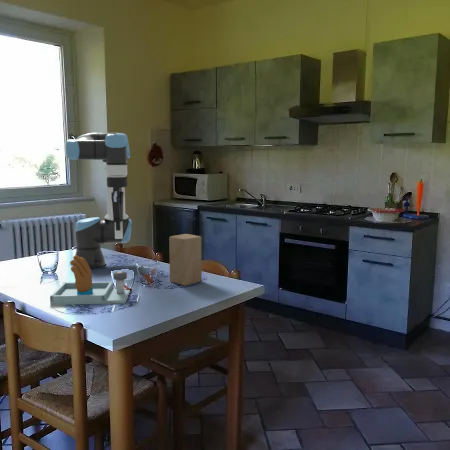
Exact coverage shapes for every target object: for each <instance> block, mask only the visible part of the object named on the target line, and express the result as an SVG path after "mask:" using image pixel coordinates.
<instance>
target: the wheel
mask: <svg viewBox="0 0 450 450" xmlns="http://www.w3.org/2000/svg"><path fill="white" fill-rule="evenodd" d="M127 273H128V272H127V271H116V272H113V280H115V281H116V280H124V281H125V280H126V279H127V278H128V275H127Z"/></svg>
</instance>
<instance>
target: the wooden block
mask: <svg viewBox="0 0 450 450" xmlns="http://www.w3.org/2000/svg"><path fill="white" fill-rule="evenodd" d="M168 241H169V252H168V253H169V282H171V283H175V284H178V285H181V286H188V285H189V286H190V285H194V284H196V283H200V282H202V279H203V277H202V271H203V270H202V269H203V268H202V236H200V235H194V234H191V233H190V234H189V233H182V234H177V235H176V234H175V235H171V236H169V239H168Z"/></svg>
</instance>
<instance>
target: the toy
mask: <svg viewBox="0 0 450 450" xmlns="http://www.w3.org/2000/svg"><path fill="white" fill-rule="evenodd" d="M70 265H72V266H71V267H70V271H71V272H72V274H73V275H74V279H75V281H74V282H75V286H76V289H77V295H91V294H92V293H93V287H92V282H93V279H92V278H93V277H92V274H93V273H92V271H91V268H89V265H88V263H87V262H86V260H85V259H84V258H82V257H79V256H77V255H74V256H73V259H72V260H70Z"/></svg>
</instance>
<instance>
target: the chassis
mask: <svg viewBox="0 0 450 450" xmlns="http://www.w3.org/2000/svg"><path fill="white" fill-rule="evenodd" d="M115 282H116V284H115V285H116V286H114V285H113V284H114V283H113V281H92V287H93V293H92V294H91V295H77V289H76V286H75V281H74V282H73V281H72V282H71V281H69V282H62V283H61V284H60V286H58V287H57V288H56V289H55V291H54V292H53V293H52V294H50V296H49V301H50V302H49V305H50V306H52V305H57V306H59V305H100V304H101V305H102V304H103V305H109V304H110V305H112V304H116V305H118V304H126V303H127V301H128V298H129V296H130V294H129V293H131V291H130V290H125V289H124V286H125V279H124V280H115ZM115 287H117V289H115ZM128 295H129V296H128ZM126 300H127V301H126Z"/></svg>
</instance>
